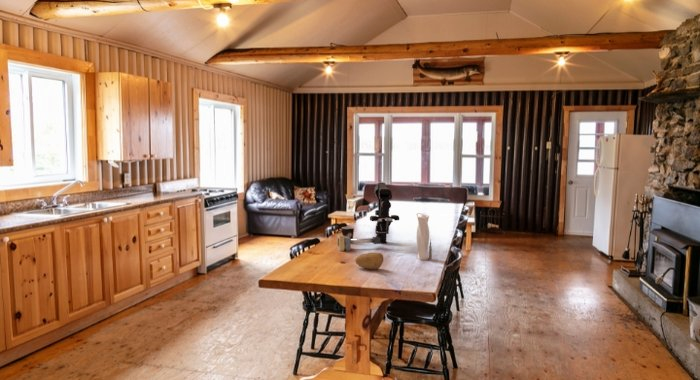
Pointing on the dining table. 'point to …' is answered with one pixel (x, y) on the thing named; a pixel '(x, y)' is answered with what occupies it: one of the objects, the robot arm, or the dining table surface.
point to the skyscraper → (423, 238)
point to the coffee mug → (347, 231)
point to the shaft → (366, 240)
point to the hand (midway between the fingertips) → (384, 231)
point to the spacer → (340, 242)
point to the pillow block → (347, 243)
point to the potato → (370, 260)
